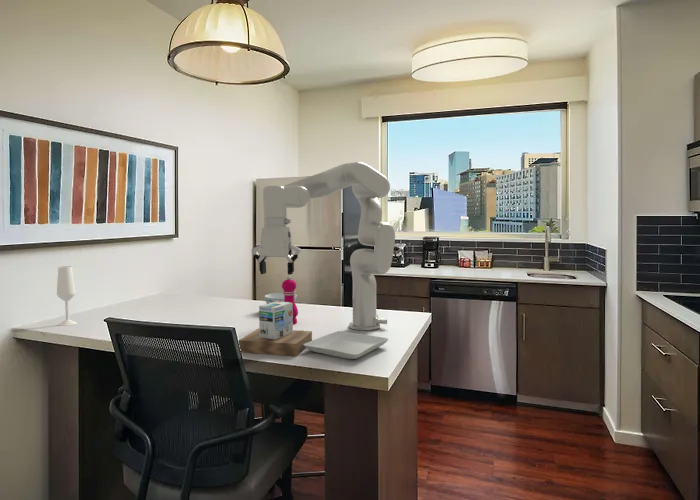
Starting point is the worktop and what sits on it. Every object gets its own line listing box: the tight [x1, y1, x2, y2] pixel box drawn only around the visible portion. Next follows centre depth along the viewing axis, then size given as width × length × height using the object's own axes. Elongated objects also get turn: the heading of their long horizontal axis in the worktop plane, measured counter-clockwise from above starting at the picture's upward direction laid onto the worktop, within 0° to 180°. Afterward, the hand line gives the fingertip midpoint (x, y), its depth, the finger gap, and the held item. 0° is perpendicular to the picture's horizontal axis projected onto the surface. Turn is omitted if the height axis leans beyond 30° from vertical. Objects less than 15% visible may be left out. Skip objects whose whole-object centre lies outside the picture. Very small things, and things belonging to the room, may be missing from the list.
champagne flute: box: [56, 265, 78, 327], centre depth 182 cm, size 7×7×24 cm
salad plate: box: [303, 330, 389, 360], centre depth 146 cm, size 21×21×3 cm
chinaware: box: [264, 292, 298, 304], centre depth 206 cm, size 15×15×8 cm
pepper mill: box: [281, 275, 299, 325], centre depth 183 cm, size 7×7×20 cm
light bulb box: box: [258, 301, 294, 340], centre depth 148 cm, size 11×7×11 cm, turn 153°
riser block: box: [238, 328, 313, 357], centre depth 149 cm, size 20×16×4 cm
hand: (276, 273), depth 147 cm, fingers open, 9 cm apart
